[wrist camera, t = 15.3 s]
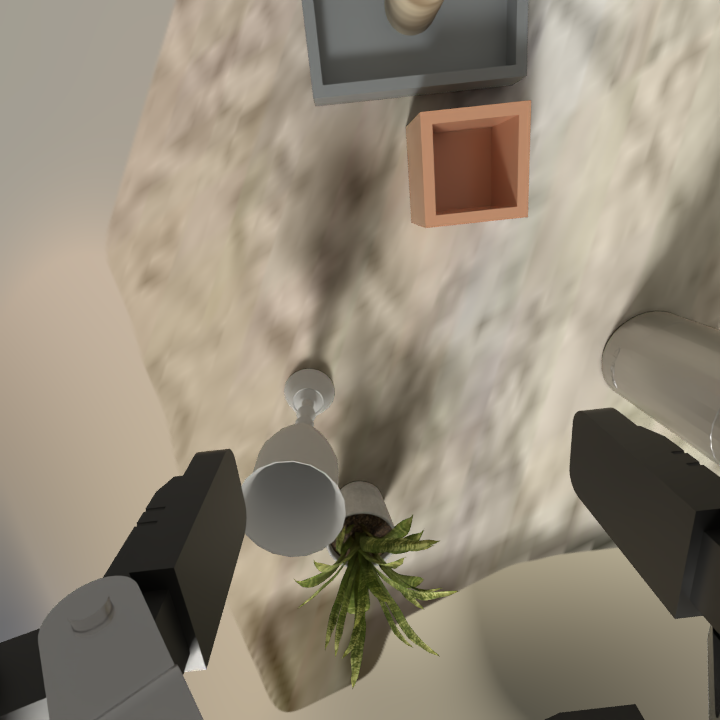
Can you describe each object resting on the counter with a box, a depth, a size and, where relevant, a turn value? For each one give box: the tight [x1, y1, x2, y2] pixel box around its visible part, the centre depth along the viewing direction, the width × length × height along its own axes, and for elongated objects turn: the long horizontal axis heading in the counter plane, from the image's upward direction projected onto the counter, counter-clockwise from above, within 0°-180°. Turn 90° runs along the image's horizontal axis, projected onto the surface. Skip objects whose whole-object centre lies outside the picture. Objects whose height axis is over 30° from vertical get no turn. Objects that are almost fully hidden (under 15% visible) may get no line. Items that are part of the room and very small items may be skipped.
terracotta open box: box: [406, 100, 531, 228], centre depth 35 cm, size 8×8×7 cm
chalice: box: [241, 369, 346, 557], centre depth 36 cm, size 7×7×18 cm
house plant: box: [294, 481, 458, 687], centre depth 42 cm, size 14×14×16 cm
